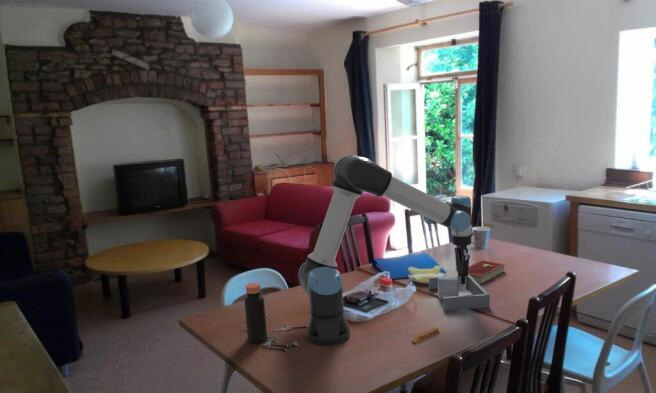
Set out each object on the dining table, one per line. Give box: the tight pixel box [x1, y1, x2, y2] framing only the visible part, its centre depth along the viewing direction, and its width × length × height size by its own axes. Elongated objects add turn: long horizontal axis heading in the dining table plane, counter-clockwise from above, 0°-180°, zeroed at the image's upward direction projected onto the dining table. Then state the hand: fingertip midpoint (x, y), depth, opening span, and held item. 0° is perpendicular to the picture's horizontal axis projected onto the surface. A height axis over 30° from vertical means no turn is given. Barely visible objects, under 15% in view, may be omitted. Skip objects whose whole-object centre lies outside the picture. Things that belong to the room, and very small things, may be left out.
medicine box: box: [437, 275, 460, 301], centre depth 201 cm, size 8×4×9 cm, turn 84°
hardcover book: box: [457, 259, 506, 284], centre depth 227 cm, size 12×21×4 cm, turn 133°
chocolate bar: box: [410, 326, 441, 344], centre depth 169 cm, size 3×12×2 cm, turn 127°
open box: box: [428, 274, 490, 311], centre depth 202 cm, size 24×18×5 cm
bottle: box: [243, 282, 268, 344], centre depth 173 cm, size 7×7×20 cm
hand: (462, 290), depth 202 cm, fingers closed
